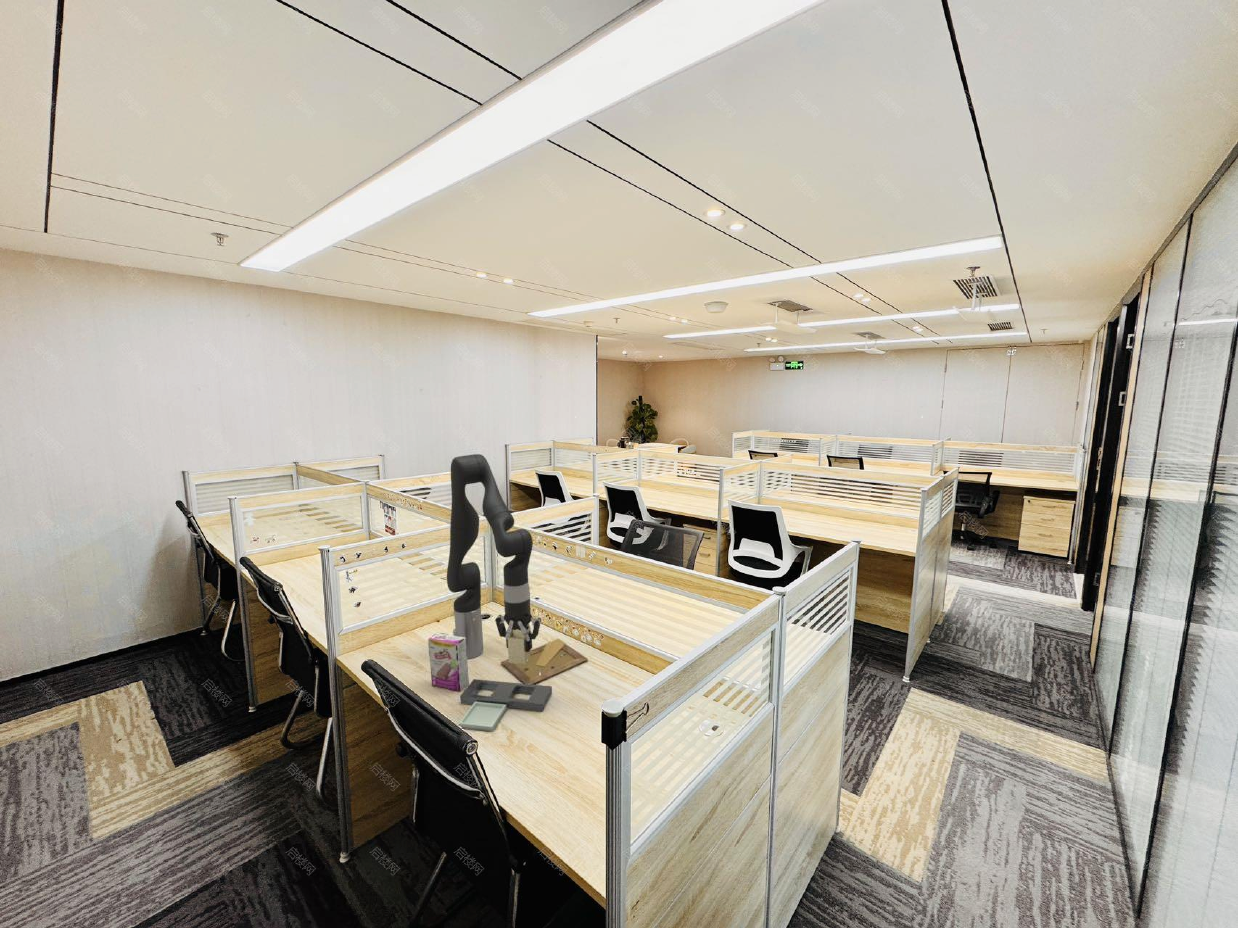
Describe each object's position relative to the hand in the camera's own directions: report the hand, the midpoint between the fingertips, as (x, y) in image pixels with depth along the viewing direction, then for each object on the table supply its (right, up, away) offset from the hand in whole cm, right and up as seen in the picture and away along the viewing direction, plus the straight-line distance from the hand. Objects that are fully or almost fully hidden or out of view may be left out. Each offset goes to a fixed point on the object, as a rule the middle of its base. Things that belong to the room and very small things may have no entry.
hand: (519, 649), depth 152 cm
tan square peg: (0, -3, 0) cm, 3 cm away
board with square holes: (-5, -16, +3) cm, 17 cm away
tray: (-9, -18, -6) cm, 21 cm away
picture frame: (+4, -14, +23) cm, 27 cm away
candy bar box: (-25, -16, +11) cm, 31 cm away
